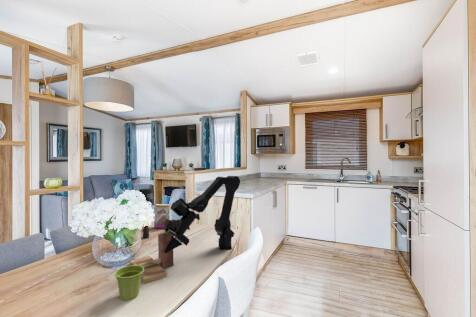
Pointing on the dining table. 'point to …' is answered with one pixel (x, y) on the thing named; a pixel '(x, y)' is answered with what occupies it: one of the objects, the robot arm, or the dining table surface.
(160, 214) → the candy bar box
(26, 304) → the dining table surface
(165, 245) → the upright wooden block
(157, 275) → the board
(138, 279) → the plant pot
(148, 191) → the stick grenade
